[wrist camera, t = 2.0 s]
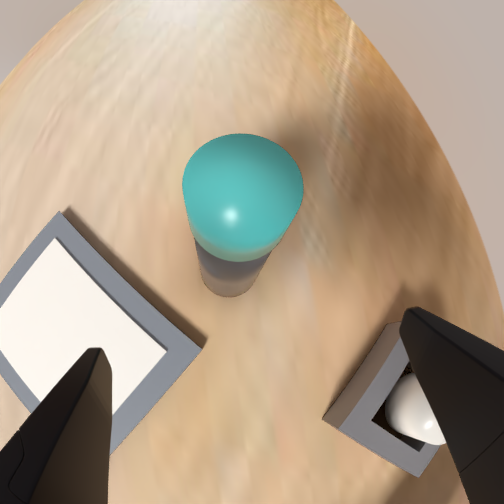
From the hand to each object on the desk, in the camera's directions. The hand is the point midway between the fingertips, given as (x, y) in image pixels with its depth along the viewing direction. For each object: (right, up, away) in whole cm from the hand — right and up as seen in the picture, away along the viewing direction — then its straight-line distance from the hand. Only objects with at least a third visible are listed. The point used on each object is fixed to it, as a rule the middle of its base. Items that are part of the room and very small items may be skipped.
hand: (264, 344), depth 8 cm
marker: (-2, +1, +12) cm, 12 cm away
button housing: (+10, -8, +11) cm, 17 cm away
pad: (-13, -3, +10) cm, 16 cm away
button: (+10, -7, +9) cm, 15 cm away
